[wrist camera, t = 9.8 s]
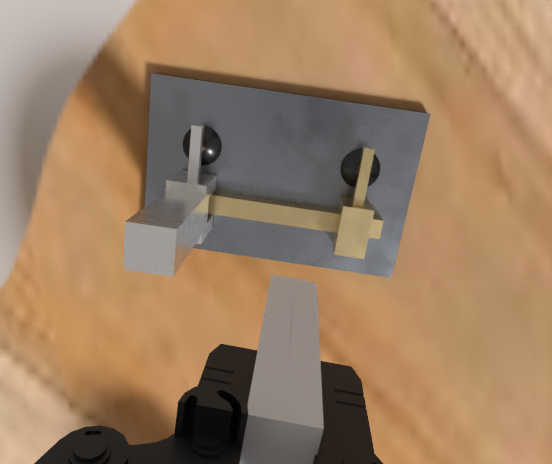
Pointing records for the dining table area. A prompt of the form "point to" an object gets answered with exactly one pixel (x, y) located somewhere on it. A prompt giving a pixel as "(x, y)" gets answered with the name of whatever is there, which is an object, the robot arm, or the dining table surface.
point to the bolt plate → (286, 164)
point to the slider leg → (172, 218)
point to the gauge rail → (315, 213)
